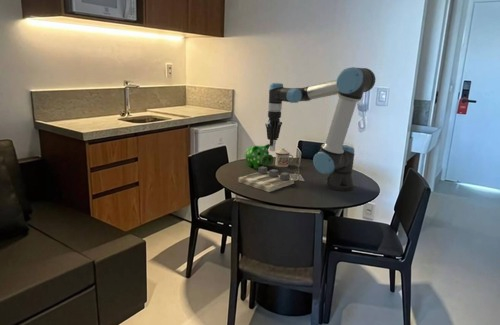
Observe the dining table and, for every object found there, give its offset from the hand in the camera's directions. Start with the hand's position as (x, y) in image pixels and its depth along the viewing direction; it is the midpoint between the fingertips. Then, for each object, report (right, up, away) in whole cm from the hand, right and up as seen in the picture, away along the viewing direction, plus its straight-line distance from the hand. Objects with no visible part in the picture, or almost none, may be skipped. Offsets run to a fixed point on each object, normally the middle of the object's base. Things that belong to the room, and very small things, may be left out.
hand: (272, 150), depth 217 cm
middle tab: (0, -15, -8) cm, 17 cm away
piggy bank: (-8, -10, +20) cm, 24 cm away
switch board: (-4, -18, -12) cm, 22 cm away
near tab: (+6, -16, -13) cm, 22 cm away
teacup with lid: (+9, -9, +25) cm, 28 cm away
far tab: (-6, -13, -3) cm, 14 cm away
